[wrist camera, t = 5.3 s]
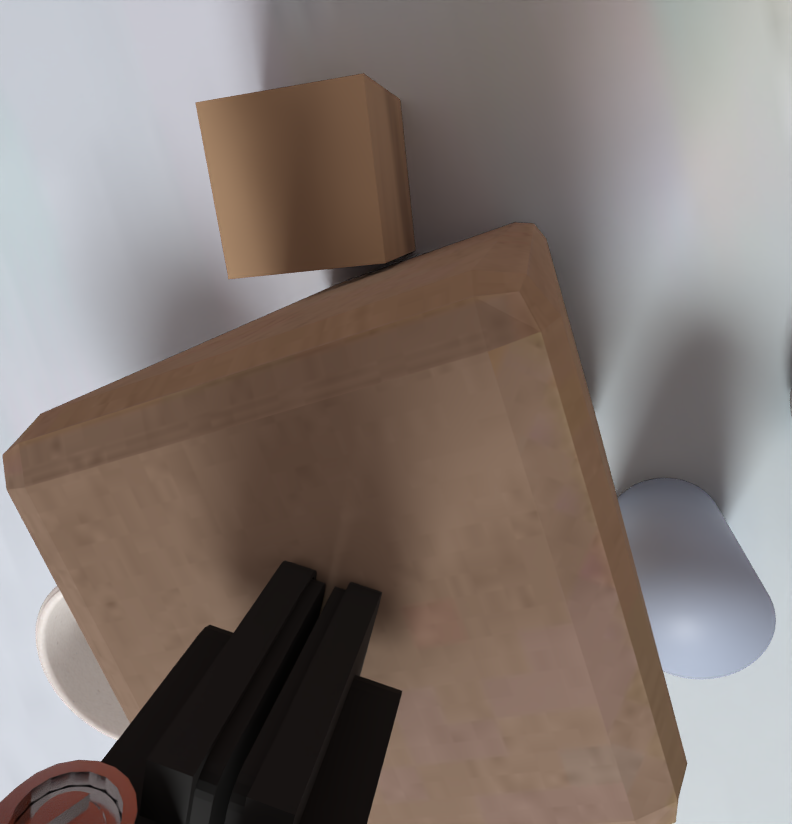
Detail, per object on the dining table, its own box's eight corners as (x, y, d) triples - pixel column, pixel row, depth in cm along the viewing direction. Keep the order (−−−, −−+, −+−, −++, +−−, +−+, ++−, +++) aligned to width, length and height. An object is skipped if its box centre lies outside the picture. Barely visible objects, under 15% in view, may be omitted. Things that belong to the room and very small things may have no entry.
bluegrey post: (740, 497, 28) (800, 586, 22) (696, 589, 30) (740, 696, 24) (628, 464, 29) (654, 541, 23) (591, 556, 31) (605, 652, 24)
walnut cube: (400, 99, 26) (363, 73, 21) (416, 249, 28) (385, 263, 23) (264, 121, 28) (195, 102, 22) (287, 263, 29) (228, 279, 24)
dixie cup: (339, 536, 33) (263, 668, 24) (260, 634, 36) (164, 784, 27) (209, 438, 33) (81, 533, 24) (140, 545, 36) (3, 666, 27)
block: (322, 288, 29) (-48, 448, 11) (539, 213, 27) (542, 252, 8) (394, 484, 32) (191, 890, 13) (600, 434, 29) (714, 864, 10)
